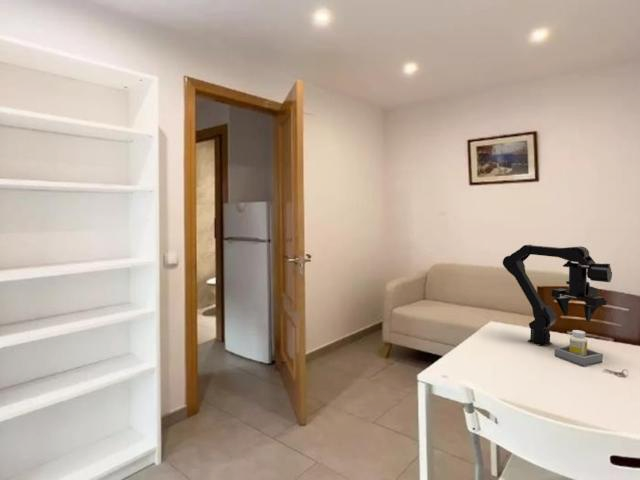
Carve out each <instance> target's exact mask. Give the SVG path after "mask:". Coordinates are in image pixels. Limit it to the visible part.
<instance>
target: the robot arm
mask: <svg viewBox="0 0 640 480" xmlns="http://www.w3.org/2000/svg"><path fill="white" fill-rule="evenodd" d="M531 255H532V256H543V257H544V256H545V257H554V258H559V259H562V260H565V261H566V263H564V264H563V265H562V268H563V267H564V268H568V280H566V281H565V283H566V285H568V289H567V288H561V287H560V288H554V289H552V291H551V297H552V298H553V299H554V300H555V301H556V302H557V305H558V306H559V307H560V309H561V311H562V313H563V315H564V316H568V314H569V303H570V301H571V299H574V300H579V301H582V302H584V303H585V304H584V305H583V308H584V316H585V321H586V322H587V323H589V322H591V319H592V318H593V316H594V314H595V312H596V311H597V309H598V308H601V307H603V306H607V300H606V298H605V297H604V296H598V294H599V290H600V289H599V288H597V287H594V286H590V282H589V281H587V280H588V279H589V280H590V281H592V282H603V283H611V281H612V277H613V271H612V268H611V264H610V263H599V262H598V263H596V261H595V260H594V259H593V258H592V256H590V251H589V250H588V248H587V247H585V246H581V245H579V246H571V247H570V246H567V247H555V246H554V247H553V246H545V245H544V246H541V245H533V244H525V245H522V246H521V247H520V248H519V249H517V250H516V251H514V252H512V253H511V254H510V255H507V256H505V257H504V258H503V260H502V265H503V267H504V268H505V269H506V271H507V272H508V273H509V274H510V275H512V276H513V277H514V278H515V280H516V282H517V283H518V285H519V287H520V289H521V291H522V292H523V294H524V296H525V297H526V299H527V301H528V302H529V305H530V306H531V308H532V316H533V318H534V320H532V321H531V322H529V323H528V326H529V329H530V337H529V339H527V342H529V343H532V344H535V345H537V346H540V347H542V346H548V345H552V343H553V342H551V333H550V331H551V330H550V328H551V326H553V325H554V324H555V323H556V321H557V319H558V318H557V313H556V312H555V310H554V308H553V306H552V305H547V304H546V303H544V301H543V300H542V298H541V296H540V295H539V293H538V292H537V289H536V288H535V286H534V284H533V283H532V281H531V280H530V277H529V276H528V274H527V272H526V266H525V262H524V261H526V260H527V259H528V258H529V257H530V256H531Z"/></svg>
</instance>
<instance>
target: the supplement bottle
mask: <svg viewBox="0 0 640 480" xmlns="http://www.w3.org/2000/svg"><path fill="white" fill-rule="evenodd" d="M571 332H572V333H571V336H570V337H569V345H570V347H569V352H570V353H573V354H575V355H578V356H581V357H585V356H587V349H588V339H587V338H586V331H584V330H578V329H573V330H572V331H571Z"/></svg>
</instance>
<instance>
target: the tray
mask: <svg viewBox="0 0 640 480" xmlns="http://www.w3.org/2000/svg"><path fill="white" fill-rule="evenodd" d="M569 347H570V344H569V345H565V346H559V347H555V348H554V357H556V358H558V359H562V360H564V361H567V362H570V363H573V364H575V365H577V366H580V367H587V366H592V365H597V364H601V363H603V359H604V356H603V355H604V354H603V353H602V352H598V351H594V350H591V349H589V348H587V356H585V357H581V356H578V355H575V354H573V353H570V352H569Z"/></svg>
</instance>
